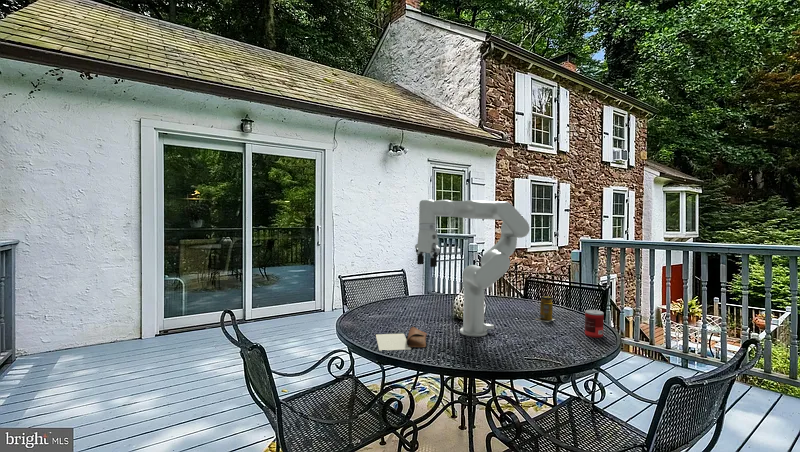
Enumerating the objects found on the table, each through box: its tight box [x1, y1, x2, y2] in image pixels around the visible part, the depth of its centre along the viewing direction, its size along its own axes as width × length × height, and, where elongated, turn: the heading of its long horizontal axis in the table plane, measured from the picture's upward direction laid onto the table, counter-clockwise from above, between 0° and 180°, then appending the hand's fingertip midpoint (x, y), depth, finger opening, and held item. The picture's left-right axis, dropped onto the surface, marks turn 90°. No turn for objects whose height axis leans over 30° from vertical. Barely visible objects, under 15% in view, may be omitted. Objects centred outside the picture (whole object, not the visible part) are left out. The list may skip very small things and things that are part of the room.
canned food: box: [584, 309, 605, 339], centre depth 181 cm, size 8×8×11 cm
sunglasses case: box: [406, 326, 428, 349], centre depth 173 cm, size 18×7×7 cm, turn 176°
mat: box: [375, 333, 412, 352], centre depth 171 cm, size 13×21×1 cm, turn 8°
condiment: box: [535, 295, 556, 323], centre depth 208 cm, size 7×8×12 cm
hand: (426, 265), depth 178 cm, fingers open, 9 cm apart
